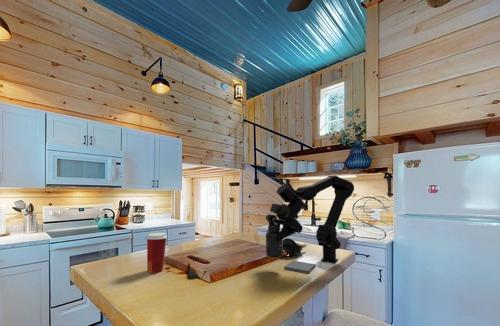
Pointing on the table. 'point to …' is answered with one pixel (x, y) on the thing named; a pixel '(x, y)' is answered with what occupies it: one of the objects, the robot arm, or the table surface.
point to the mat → (300, 266)
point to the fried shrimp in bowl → (292, 247)
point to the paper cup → (155, 252)
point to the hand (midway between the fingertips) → (271, 239)
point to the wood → (192, 274)
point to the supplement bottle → (273, 242)
